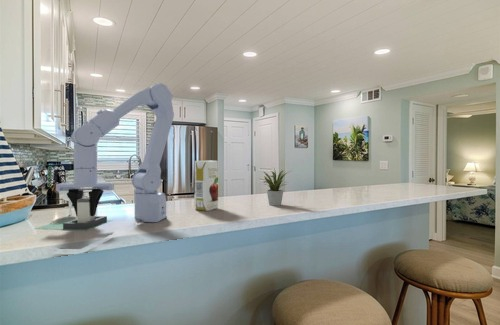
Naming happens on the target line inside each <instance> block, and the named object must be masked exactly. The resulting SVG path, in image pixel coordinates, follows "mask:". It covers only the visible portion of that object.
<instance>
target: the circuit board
mask: <svg viewBox="0 0 500 325" xmlns="http://www.w3.org/2000/svg"><path fill="white" fill-rule="evenodd" d="M112 221H113V219H108V216H107V215H106V216H105V215H95V219H94V220H91V221H89V222H86V223H77V218H65V219H63V220H62V219H61V220H59V221H56V222H53V223H49V224H45V225H42V226H38V227H35V228H34V230H57V231H58V230H62V231H88V230H91V229H93V228H96V227H99V226H101V225H104V224H107V223H110V222H112Z"/></svg>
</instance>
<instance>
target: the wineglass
mask: <svg viewBox="0 0 500 325" xmlns="http://www.w3.org/2000/svg"><path fill="white" fill-rule="evenodd" d="M68 183H74V180H73V181H71V180H69V181H62V182H61V183H60V184H68ZM75 189H81V188H75ZM68 192H69V191H59V196H60V198H61V200H64V201H67V202H68V208H69V214H68V215H69V216H72V206H73V204H72V202H71V201H70V199H69V197H68V196H67V193H68Z"/></svg>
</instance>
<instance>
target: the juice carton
mask: <svg viewBox="0 0 500 325" xmlns="http://www.w3.org/2000/svg"><path fill="white" fill-rule="evenodd" d="M218 208H219V161H218V160H195V161H194V210H197V211H203V212H204V211H205V212H209V211H212V210H216V209H218Z"/></svg>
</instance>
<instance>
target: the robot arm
mask: <svg viewBox="0 0 500 325" xmlns="http://www.w3.org/2000/svg"><path fill="white" fill-rule="evenodd" d="M172 100H173V94H172V91H171V90H170V89H169V88H168V86H167V85H166V84H165V83H163V82H161V83H160V82H158V83H155V84H153V85H152V86H149V87H146V88H144V89H142V90H140V91H138V92H136V93H134V94H132V95H131V96H130V97H128V98H127V99H126V100H124V101H123V102H121V103H120V104H119V105H117V106H116V107H115V108H113V109H112V110H111V109H104V110H102V109H100V110H98V111H97V112H96V114H97V115H94V117H92V118H90V119H88V120H85V121H83V122H82V123H83V124H81V125H80V126H79V127H77V128H75V129H74V130H73V132H72V133H71V136H70V138H71V139H70V140H71V142H73V181H74V183H68V184H61V183H56V184H55V191H56V192H60V191H69V192H68V193H67V196H68V197H69V199H70V201H71V202H72V206H73V208H74V212H75V215H76V218H77V200H78V199H80V198H83V197H84V196H83V194H84V191H88V197H89V198H90V216H94V215H95V216H96V212H97V208H98V206H99V205H98V204H99V202H100V200H101V198H102V196H103V193H104V191H113V190H115V183H114V182H98V156H97V155H98V154H97V144H98V142H99V140H100V138H103V137H104V136H106V135H107V134H109V133H110V132H111V131H112V130H114V129H115V128H117V127H118V126H119V125H120V120H121V119H122V118H123V117H124V116H126V115H127V114H129V113H130V112H132V111H133V110H135V109H136V108H138V107H139V106H142V107H144V106H146V107H147V108H148V109H149V110H151V111H152V112H153V114H154V115H155V117H156V119H155V122H154V125H153V128H152V130H151V134H150V137H149V142H148V145H147V148H146V151H145V155H144V158H143V161H142V162H141V163H140V165H139V166H138V169H137V171H136V172H135V173H134V174H133V176H132V178H131V184H132V186H133V187H134V191H133V192H134V219H137V220H138V221H137V222H138V223H139V222H142V223H144V222H145V223H146V222H147V223H159V222H160V221H163V220H164V219H165V218H167V217H168V215H167V197H166V194H165V193H164V192H159V188H160V187H161V184H162V179H161V174H162V168H161V161H162V158H163V155H164V150H165V148H166V144H167V140H168V137H169V134H170V131H171V128H172V125H173V124H172V123H173V121H174V117H175V114H174V107H173V102H172ZM75 188H80V189H75Z"/></svg>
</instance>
